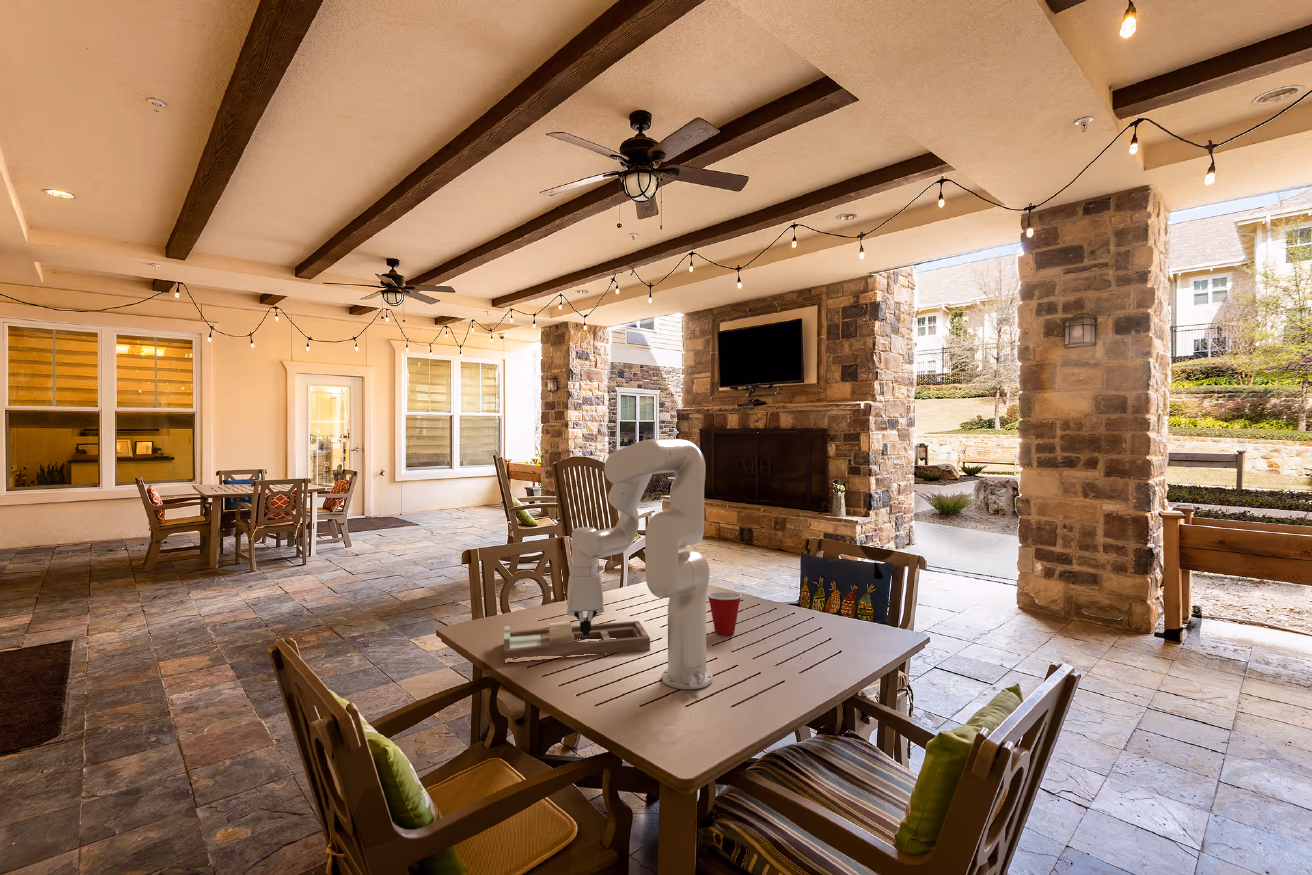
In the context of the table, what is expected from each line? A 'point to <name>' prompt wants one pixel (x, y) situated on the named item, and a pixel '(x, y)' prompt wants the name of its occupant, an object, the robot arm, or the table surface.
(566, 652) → the tray
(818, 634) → the table surface
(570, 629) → the maple block
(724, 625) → the plastic cup
